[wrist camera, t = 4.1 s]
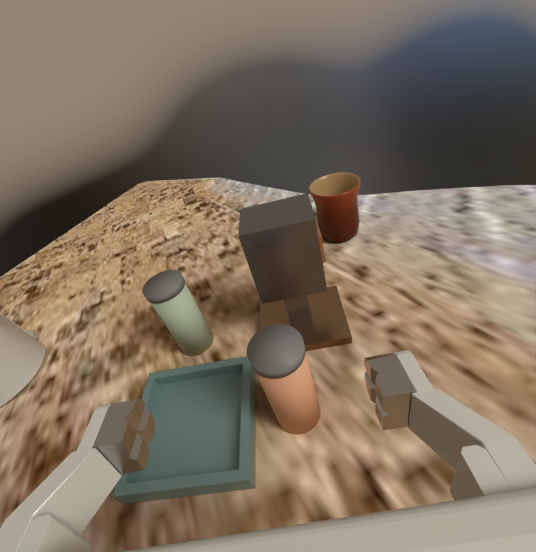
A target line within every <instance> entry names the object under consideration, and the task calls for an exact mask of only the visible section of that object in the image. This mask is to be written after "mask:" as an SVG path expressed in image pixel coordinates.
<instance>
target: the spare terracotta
mask: <svg viewBox="0 0 536 552" xmlns="http://www.w3.org/2000/svg"><path fill="white" fill-rule="evenodd" d="M305 352H306V351H305V345H304V341H303V338H302V336H301V334H300V333H299V331H298V330H296V329H295V328H293V327H291V326H288V325H284V324H276V325H271V326H268V327H265V328H263V329H261V330H260V331H258V332H257V333H256V334H255V335H254V336H253V337H252V338H251V340H250V342H249V344H248V347H247V357H248V360H249V362H250V364H251V366H252V368H253V370H254V371H255V372H256V375H257V377H258V379H259V381H260V383H261V385H262V388H263V390H264V392H265V394H266V396H267V399H268V401H269V403H270V405H271V407H272V409H273V412H274V414H275V416H276V418H277V420H278V423H279V424H280V426H281V427H282V428H283V429H284V430H285V431H287V432H289V433H291V434H304V433H306V432H308V431H310V430H311V429H313V428H314V427H315V425H316V424H317V423H318V420H319V418H320V406H319V402H318V398H317V395H316V391H315V387H314V383H313V380H312V376H311V372H310V368H309V364H308V361H307V357H306V353H305Z"/></svg>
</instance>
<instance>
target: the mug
mask: <svg viewBox="0 0 536 552" xmlns="http://www.w3.org/2000/svg"><path fill="white" fill-rule="evenodd" d="M360 184H361V179H360V178H359V177H358V176H357V175H355V174H352V173H339V172H335V173H332V174H329V175H325V176H322V177H320V178H318V179H316V180H315V181H313V182H312V183H311V184H310V186H309V192H310V194H311V196H312V198H313V200H314V202H315V205H316V210H317V219H318V226H319V230H320V233H321V236H322V237H323V238H324V239H325V240H327V241H330V242H344V241H347V240H350V239H351V238H353V237H354V236H355V235H356V234H357V232H358V228H359V212H358V203H357V197H358V191H359V187H360Z"/></svg>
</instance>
